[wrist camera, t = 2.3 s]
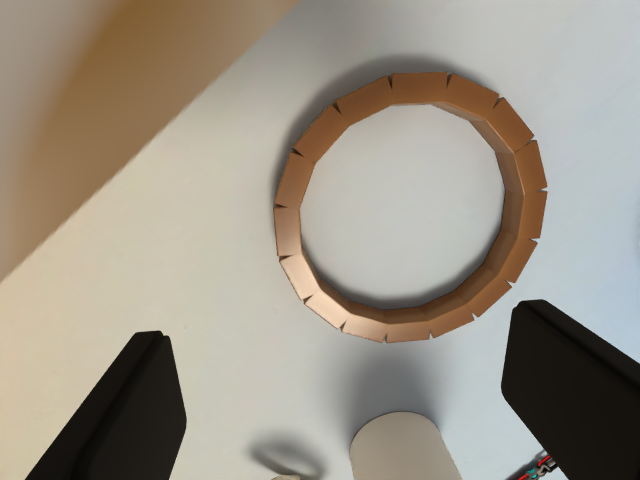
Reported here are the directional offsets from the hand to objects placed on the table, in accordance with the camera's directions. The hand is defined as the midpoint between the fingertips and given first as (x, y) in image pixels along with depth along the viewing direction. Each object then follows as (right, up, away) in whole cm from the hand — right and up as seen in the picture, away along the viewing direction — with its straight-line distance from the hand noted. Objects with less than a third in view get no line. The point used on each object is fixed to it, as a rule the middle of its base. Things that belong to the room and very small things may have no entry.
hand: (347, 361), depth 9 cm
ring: (+5, +5, +15) cm, 16 cm away
